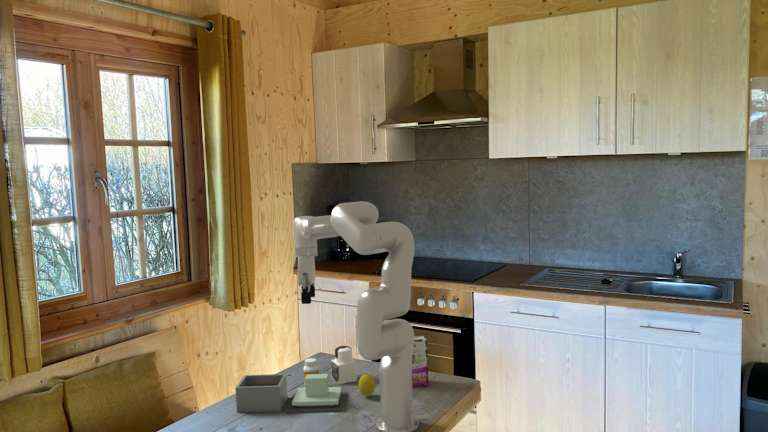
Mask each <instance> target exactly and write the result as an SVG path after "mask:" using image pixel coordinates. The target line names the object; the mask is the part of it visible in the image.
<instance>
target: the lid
mask: <svg viewBox="0 0 768 432" xmlns="http://www.w3.org/2000/svg"><path fill="white" fill-rule="evenodd" d="M329 383H330V382H329V373H319V374H307V375H306V377H305V388H304V387H297V389H296V392H295V393H296V394H295V396H294V398H293V401H292V406H298V407H304V406H334V405H338V403H339V399H340V395H341V392H343V391H342V389H343V388H342V386H330V385H329Z"/></svg>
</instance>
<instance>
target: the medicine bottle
mask: <svg viewBox="0 0 768 432" xmlns="http://www.w3.org/2000/svg"><path fill="white" fill-rule="evenodd" d="M352 351H353V350H352V347H350V346H348V345H341V346H338V347H336V348H335V349H334V358H333V359H331V379H332V380H334V382H336V383H337V384H338V385H340V386H341V385H344V384H348V383H354V382H357V381H358V368H357V361H356V360H355V359H353V352H352Z"/></svg>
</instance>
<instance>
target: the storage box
mask: <svg viewBox="0 0 768 432" xmlns="http://www.w3.org/2000/svg"><path fill="white" fill-rule="evenodd" d="M287 381H288V380H287V374H286V373H278V374H274V373H272V374H245V375H244V376H242V378H241V380H240V381H239V382H238V384H237V385H236V387H235V398H236V401H235V403H236V412H237V413H250V412H251V413H256V412H257V413H258V412H259V413H261V412H281V411H282V410H283V407H284V406H285V404H286V401H287V399H288V382H287Z"/></svg>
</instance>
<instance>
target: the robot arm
mask: <svg viewBox="0 0 768 432" xmlns="http://www.w3.org/2000/svg"><path fill="white" fill-rule="evenodd" d="M379 213H380V212H379V210H378V208H377V206H376V205H375V204H373V203H371V202H370V201H352V202H342V203H341V202H340V203H338V204H337V205H335V206H334V207H333V209H332V210H331V213H330V214H329V215H319V216H313V215H301V216H296V217H295V218H294V219H293V226H294V227H293V228H294V229H293V230H294V246H295V247H294V250H295V258H297V286H299V287H301V289H300V290H301V291H300V293H301V294H300V297H301V300H300V301H301V304H302V305H307V304H311V303H312V298H315V297H316V286H315V281H316V262H315V260H316V259H315V257H317V256H318V240H320V239H322V240H323V239H330V238H337V237H341V238H342V239H343V240H344V241H345V243H346V244H348V246H349V247H350V248H351V249H352V250H353V251H354V252H356V253H357V254H359V255H363V256H366V255H367V256H369V255H373V254H381V253H385V252H388V255H387V257H386V258H385V260H384V262H383V265H382V267H381V281H380V285H379V286H376V287H372V288H369V289H366V290H364V291H363V292H362V293H361V294H360V296H359V297H358V301H357V304H356V334H355V335H356V346H357V350H358V353H359V355H360V356H361V357H362V358H363V359H364V360H366V361H376V360H379V359H380V362H379V370H378V371H379V372H378V373H379V397H380V398H379V400H380V401H379V402H380V403H379V404H380V417H378V418H377V420H376V422H375V427H376V429H377V430H378V431H379V432H414V431H416V430H417V429H418V428H419V426H420V422H421V421H422V422H428V421H430V414H429V413H425V411H424V410H423V411H420V410H419V411H417V410H415V406H414V399H413V398H414V397H413V395H414V393H413V390H414V389H413V387H412V351H413V345H414V337H415V332H414V331H415V330H414V329H413V325H412V324H411V323H410V322H409V321H407V320H406V319H403V318H398V317H401V316H404V315H406V314H407V313H408V312H409V310H410V307H411V295H412V267H413V262H414V256H415V240H414V239H415V238H414V236H413V233H412V231H411V230H410V229H409V227H408V226H407V225H405V224H403V223H402V222H399V221H385V222H378V219H379Z"/></svg>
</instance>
